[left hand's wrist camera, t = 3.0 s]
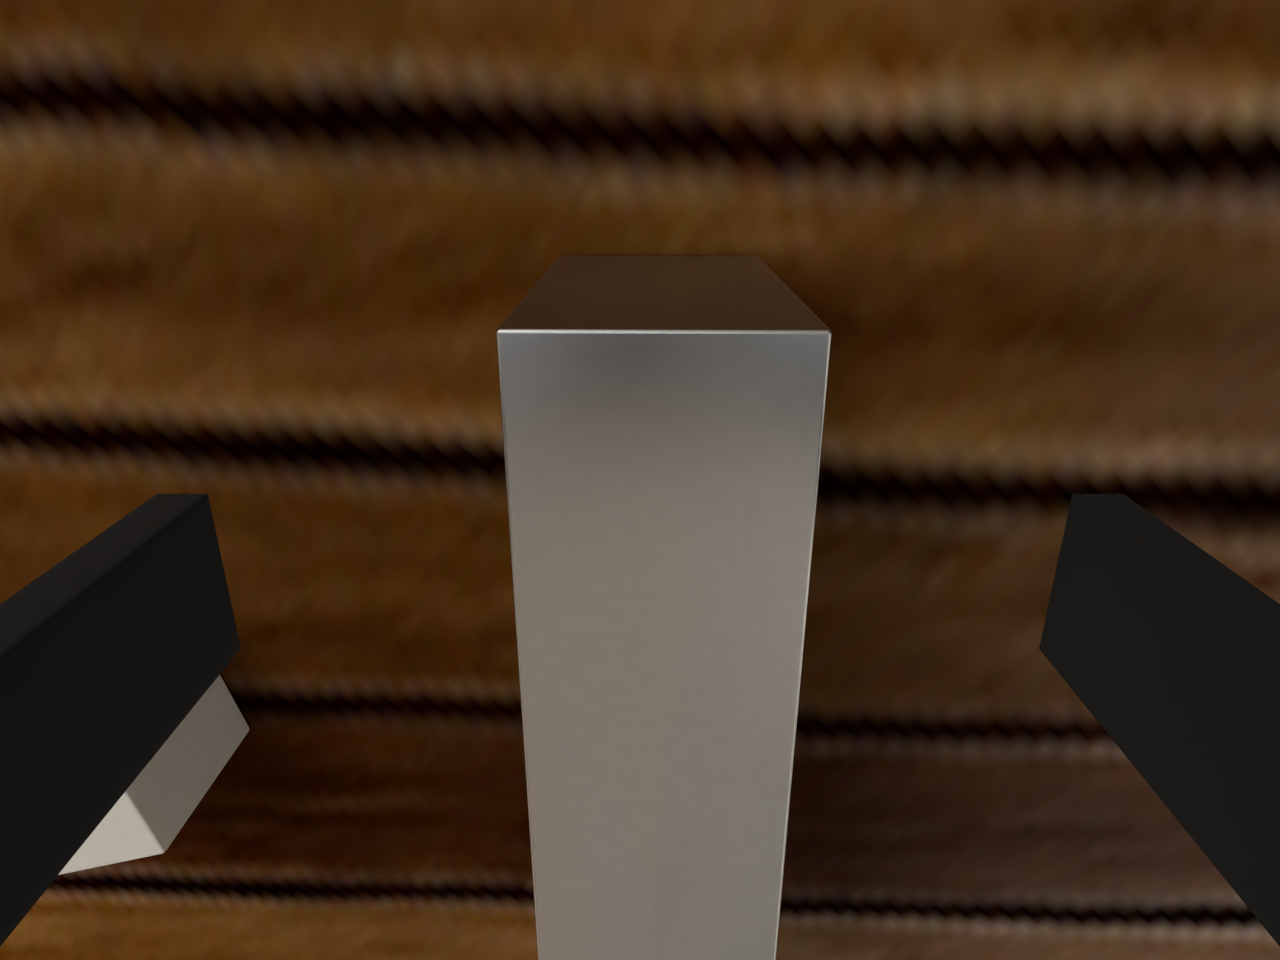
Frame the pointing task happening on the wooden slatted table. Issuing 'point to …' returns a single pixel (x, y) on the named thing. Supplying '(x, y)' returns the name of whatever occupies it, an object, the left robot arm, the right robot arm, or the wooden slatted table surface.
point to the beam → (660, 594)
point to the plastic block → (167, 785)
